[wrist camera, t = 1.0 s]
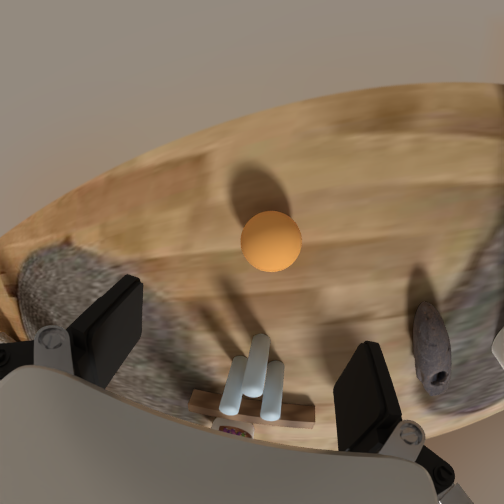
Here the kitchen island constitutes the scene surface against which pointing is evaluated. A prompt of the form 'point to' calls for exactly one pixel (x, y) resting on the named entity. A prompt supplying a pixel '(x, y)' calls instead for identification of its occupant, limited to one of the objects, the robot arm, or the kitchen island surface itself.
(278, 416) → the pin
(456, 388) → the kitchen island surface
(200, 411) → the rail
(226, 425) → the milk bottle
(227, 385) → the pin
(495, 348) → the cylindrical container
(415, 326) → the perforated stone tool
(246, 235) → the ball
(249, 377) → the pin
